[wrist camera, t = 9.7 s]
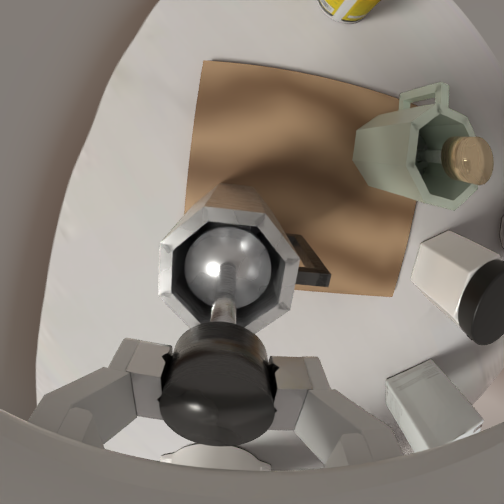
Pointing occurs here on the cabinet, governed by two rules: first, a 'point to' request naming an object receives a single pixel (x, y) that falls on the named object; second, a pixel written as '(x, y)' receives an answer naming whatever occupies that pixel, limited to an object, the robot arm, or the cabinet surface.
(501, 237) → the potion bottle
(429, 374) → the skincare box
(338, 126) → the serving board
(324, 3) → the supplement bottle
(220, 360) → the steel plunger
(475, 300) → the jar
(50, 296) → the cabinet surface
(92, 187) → the cabinet surface
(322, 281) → the steel press
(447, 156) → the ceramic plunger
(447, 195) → the pale green octagonal mug
